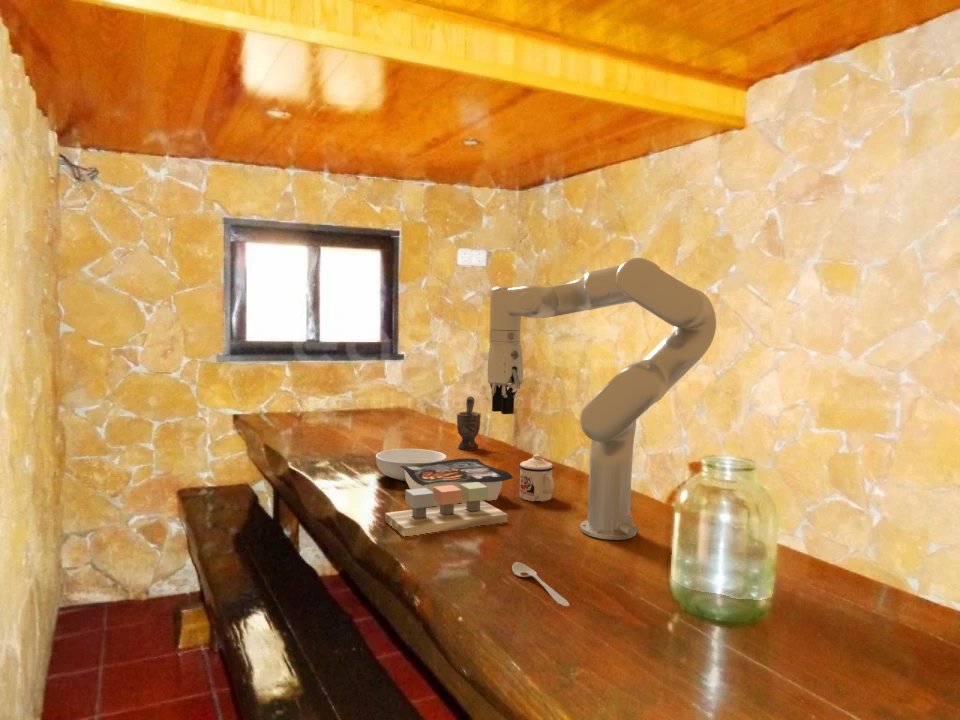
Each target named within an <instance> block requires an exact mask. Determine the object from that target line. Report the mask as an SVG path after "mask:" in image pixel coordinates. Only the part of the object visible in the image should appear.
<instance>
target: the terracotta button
mask: <svg viewBox="0 0 960 720" xmlns="http://www.w3.org/2000/svg"><path fill="white" fill-rule="evenodd" d="M433 493H434V500H435V501H436V502H438V503H439V504H440V512H441V513H442V514H444V515H446V514H454V503H457V504H459V503H461V494H462V490H461V489H459V488H457V487H455V486H454V485H446V486H437V487H433Z"/></svg>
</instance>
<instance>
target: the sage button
mask: <svg viewBox="0 0 960 720" xmlns="http://www.w3.org/2000/svg"><path fill="white" fill-rule="evenodd" d="M460 489H461V490H462V494H461V497H462V498H463V499H465V500H467V507H466V508H467V509H468V510H470V511H476V510H480V500H484V501H487V500H486V499H488V487H487V486H485V485H483V484H481V483H479V482H474V483H464V484H460Z"/></svg>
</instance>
